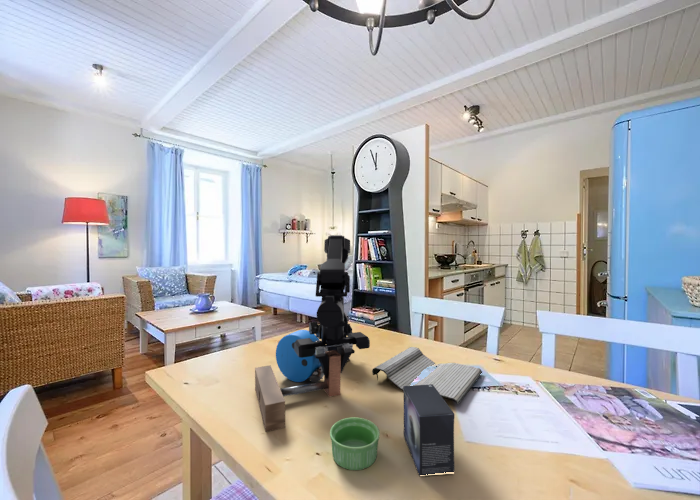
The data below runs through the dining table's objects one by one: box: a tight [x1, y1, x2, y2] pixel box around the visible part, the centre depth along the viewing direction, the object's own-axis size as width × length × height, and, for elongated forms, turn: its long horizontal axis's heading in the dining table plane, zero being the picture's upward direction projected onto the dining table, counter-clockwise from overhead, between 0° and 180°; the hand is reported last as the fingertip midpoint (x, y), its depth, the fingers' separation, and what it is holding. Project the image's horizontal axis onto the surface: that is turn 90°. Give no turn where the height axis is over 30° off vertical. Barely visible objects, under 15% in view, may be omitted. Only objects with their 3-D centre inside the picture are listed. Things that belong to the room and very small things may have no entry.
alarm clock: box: [275, 329, 327, 383], centre depth 85 cm, size 13×6×15 cm
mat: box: [371, 346, 483, 405], centre depth 86 cm, size 23×24×5 cm
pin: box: [280, 350, 342, 398], centre depth 75 cm, size 16×4×10 cm, turn 113°
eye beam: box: [254, 365, 286, 433], centre depth 71 cm, size 4×20×6 cm, turn 23°
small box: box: [402, 384, 456, 476], centre depth 55 cm, size 11×6×10 cm, turn 5°
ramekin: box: [329, 416, 380, 471], centre depth 55 cm, size 9×9×4 cm
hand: (332, 377), depth 78 cm, fingers closed on pin, 3 cm apart
